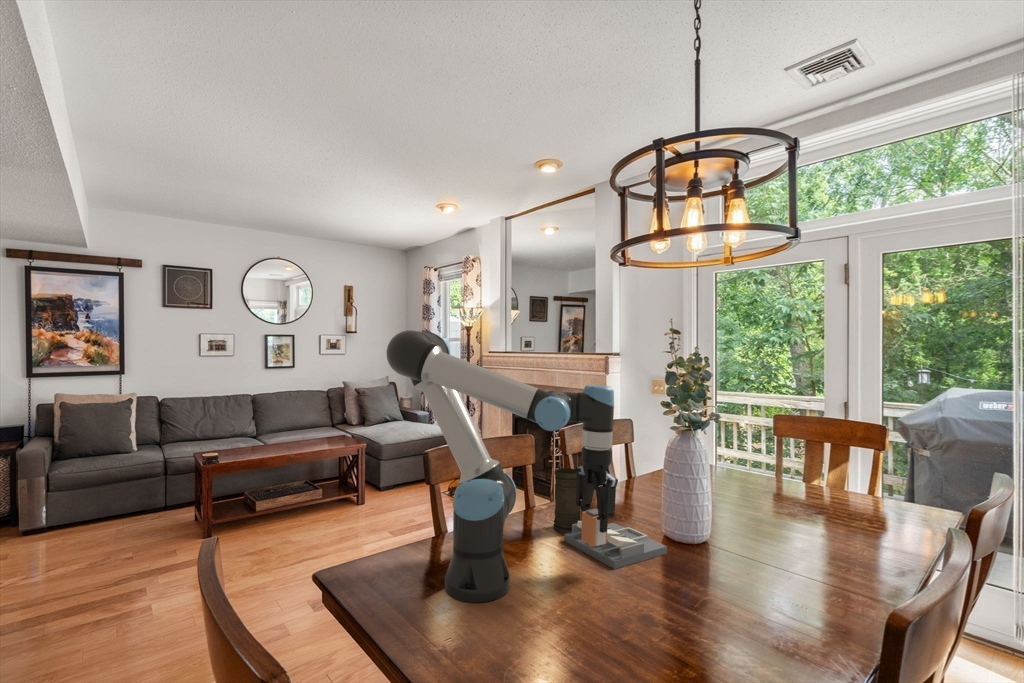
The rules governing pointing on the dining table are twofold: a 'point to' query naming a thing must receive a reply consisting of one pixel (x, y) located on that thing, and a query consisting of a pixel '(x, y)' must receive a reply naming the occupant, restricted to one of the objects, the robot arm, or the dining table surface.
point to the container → (565, 500)
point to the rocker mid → (612, 533)
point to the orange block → (589, 527)
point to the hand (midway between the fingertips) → (593, 540)
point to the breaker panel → (615, 554)
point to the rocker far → (579, 524)
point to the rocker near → (621, 541)
